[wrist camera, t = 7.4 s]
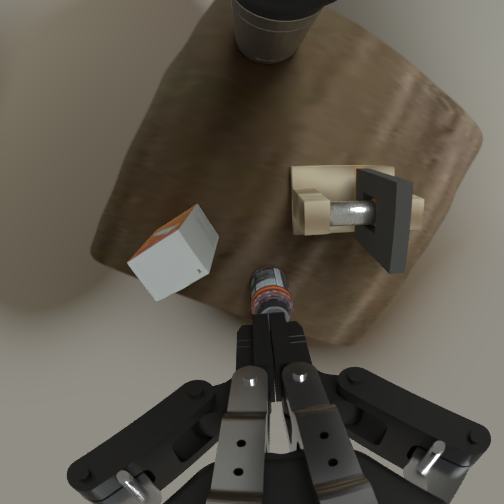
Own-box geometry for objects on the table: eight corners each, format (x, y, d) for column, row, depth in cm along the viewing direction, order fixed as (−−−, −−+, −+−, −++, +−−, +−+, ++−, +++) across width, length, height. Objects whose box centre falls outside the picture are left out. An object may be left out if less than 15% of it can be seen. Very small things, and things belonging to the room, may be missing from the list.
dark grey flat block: (356, 168, 38) (396, 182, 27) (369, 168, 38) (413, 182, 27) (354, 237, 42) (389, 273, 30) (366, 236, 42) (404, 272, 30)
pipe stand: (290, 166, 42) (304, 175, 32) (390, 166, 42) (426, 176, 32) (292, 232, 45) (305, 260, 35) (387, 226, 45) (419, 251, 35)
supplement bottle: (287, 295, 50) (297, 336, 39) (251, 298, 50) (253, 340, 39) (286, 262, 47) (296, 298, 37) (248, 265, 47) (249, 303, 37)
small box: (197, 202, 44) (178, 227, 31) (220, 236, 46) (211, 274, 34) (155, 229, 45) (125, 263, 33) (178, 261, 47) (156, 304, 35)
